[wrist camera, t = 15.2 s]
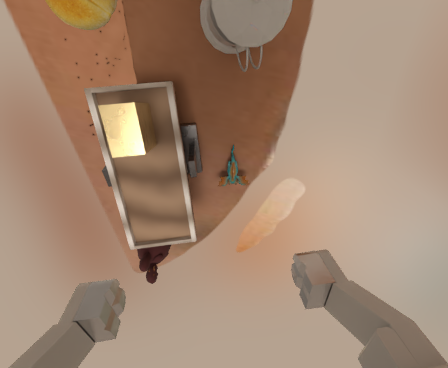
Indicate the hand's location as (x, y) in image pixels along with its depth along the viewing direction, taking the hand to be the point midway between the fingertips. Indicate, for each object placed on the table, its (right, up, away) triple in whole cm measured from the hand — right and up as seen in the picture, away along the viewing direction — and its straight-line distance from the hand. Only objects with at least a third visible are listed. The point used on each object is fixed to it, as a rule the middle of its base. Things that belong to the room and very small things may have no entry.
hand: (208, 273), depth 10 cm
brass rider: (-12, +13, +22) cm, 28 cm away
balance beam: (-11, +6, +26) cm, 29 cm away
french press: (+2, +29, +23) cm, 37 cm away
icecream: (-15, -5, +42) cm, 45 cm away
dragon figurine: (+2, +12, +34) cm, 36 cm away
